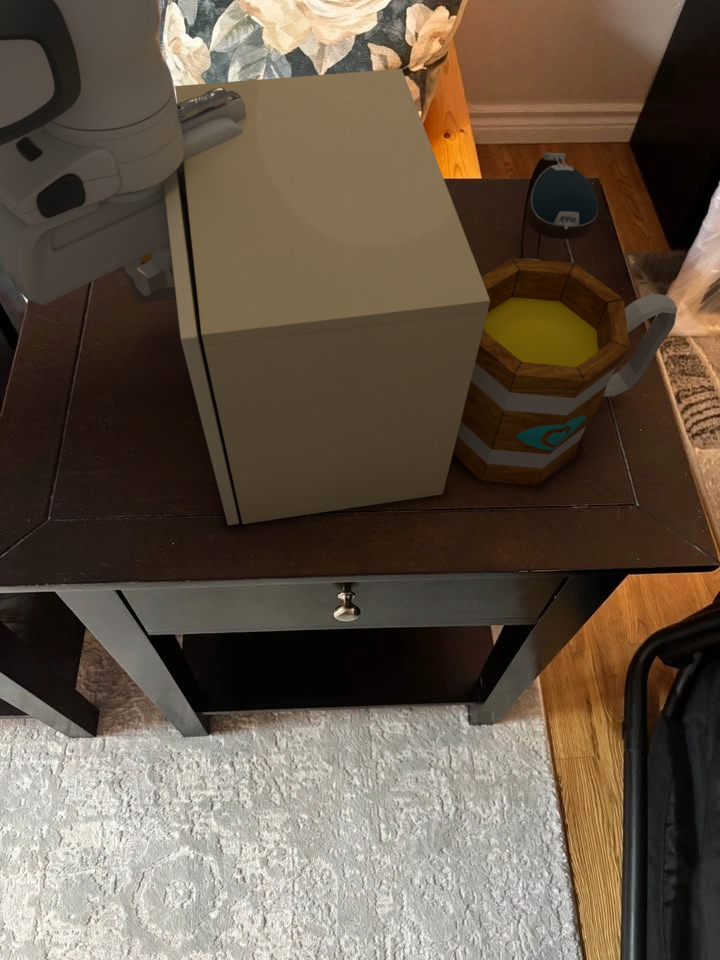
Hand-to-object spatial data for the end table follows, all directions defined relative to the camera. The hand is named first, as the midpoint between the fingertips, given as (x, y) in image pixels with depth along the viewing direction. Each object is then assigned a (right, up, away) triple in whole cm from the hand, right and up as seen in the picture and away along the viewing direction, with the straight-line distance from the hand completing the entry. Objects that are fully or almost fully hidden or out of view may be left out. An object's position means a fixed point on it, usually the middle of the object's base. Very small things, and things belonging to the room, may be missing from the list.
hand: (154, 285), depth 62 cm
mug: (+34, -10, +10) cm, 37 cm away
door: (+1, -10, +9) cm, 13 cm away
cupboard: (+13, -8, +11) cm, 19 cm away
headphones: (+35, +3, +18) cm, 40 cm away
